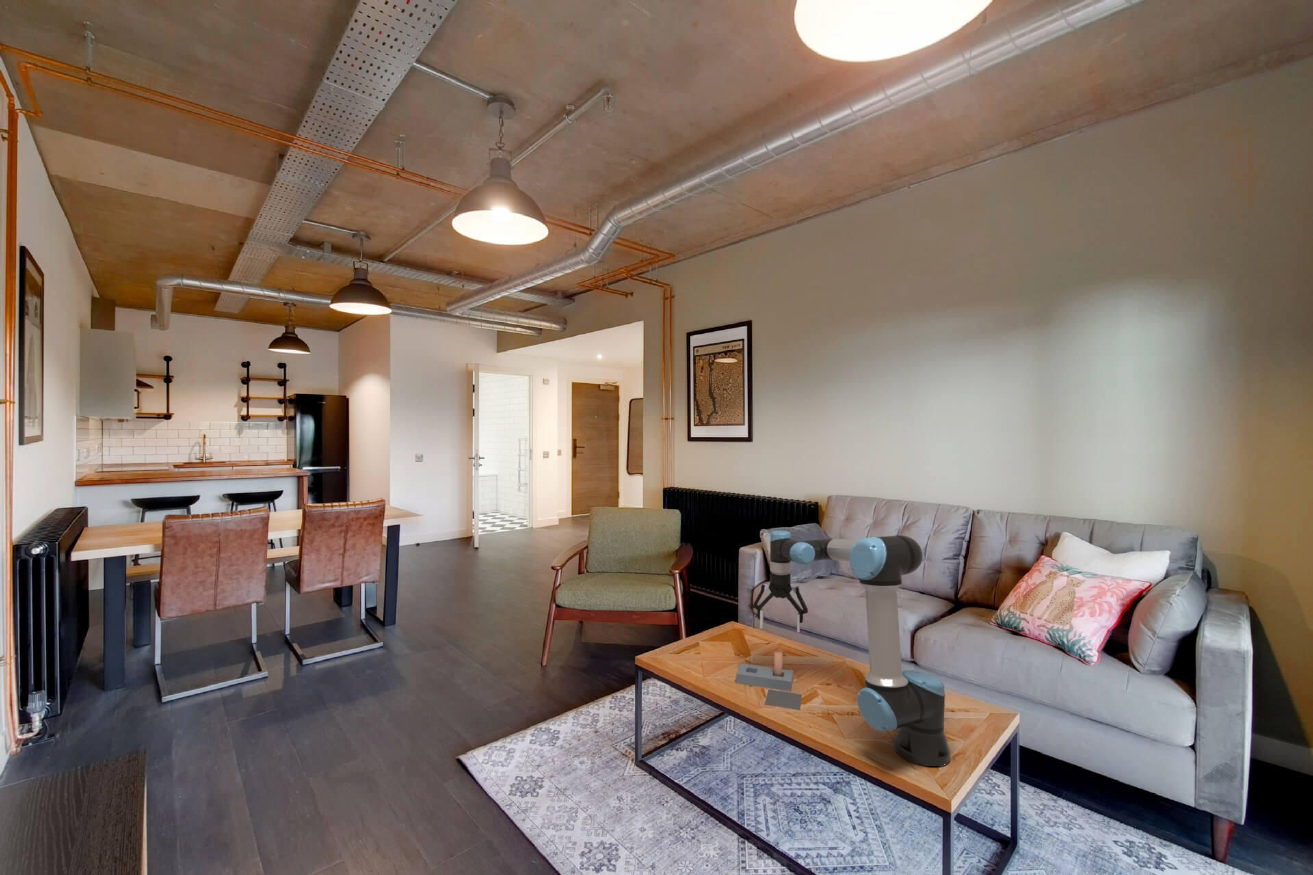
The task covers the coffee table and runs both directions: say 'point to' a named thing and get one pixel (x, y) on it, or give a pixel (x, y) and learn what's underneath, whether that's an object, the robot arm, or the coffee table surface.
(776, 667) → the peg
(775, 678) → the hole block
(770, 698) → the mat
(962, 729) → the coffee table surface
